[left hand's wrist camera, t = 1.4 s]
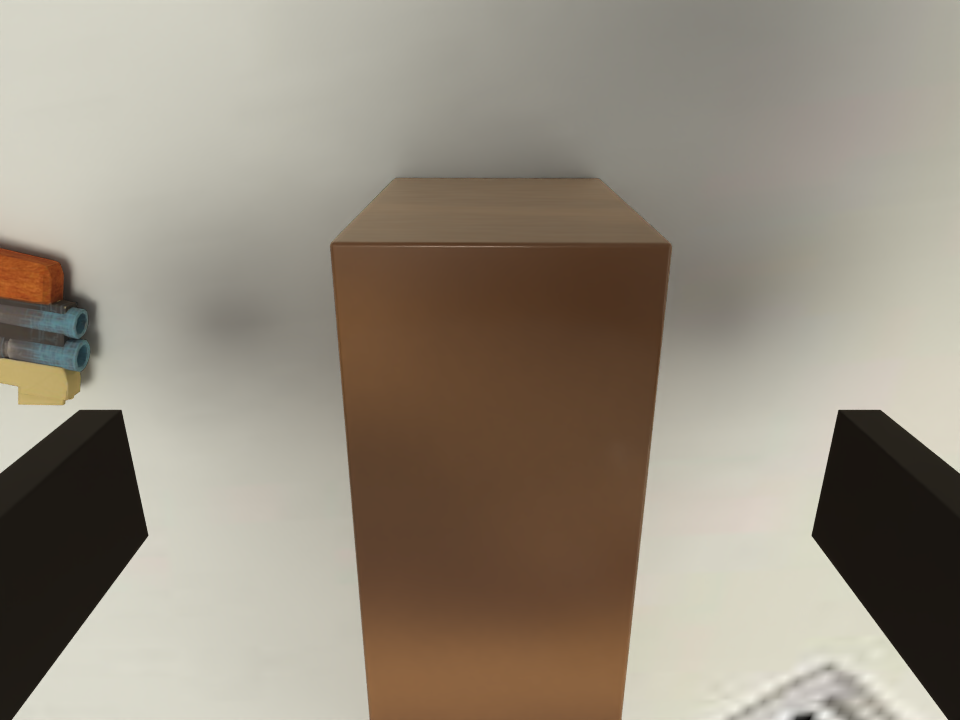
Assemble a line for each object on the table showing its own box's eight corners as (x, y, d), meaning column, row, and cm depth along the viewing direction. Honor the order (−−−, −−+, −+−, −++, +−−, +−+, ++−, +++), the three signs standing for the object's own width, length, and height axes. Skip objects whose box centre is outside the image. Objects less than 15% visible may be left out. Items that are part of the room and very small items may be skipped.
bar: (393, 177, 19) (328, 242, 12) (600, 178, 19) (673, 243, 11) (420, 747, 28) (393, 1003, 20) (563, 749, 28) (590, 1006, 20)
